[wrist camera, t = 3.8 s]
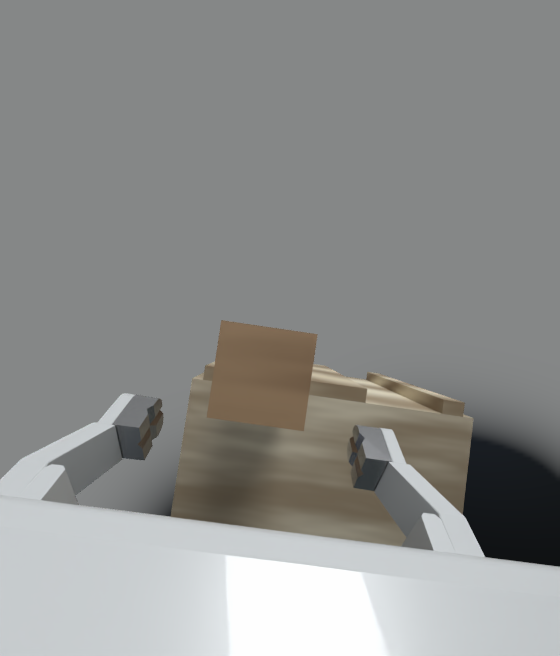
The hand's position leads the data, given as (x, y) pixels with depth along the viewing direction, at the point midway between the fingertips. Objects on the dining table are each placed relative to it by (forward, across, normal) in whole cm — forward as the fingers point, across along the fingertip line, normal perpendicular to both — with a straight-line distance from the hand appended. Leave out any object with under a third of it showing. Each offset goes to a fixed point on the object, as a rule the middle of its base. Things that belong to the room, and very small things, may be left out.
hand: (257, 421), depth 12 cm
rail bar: (+8, 0, +5) cm, 10 cm away
